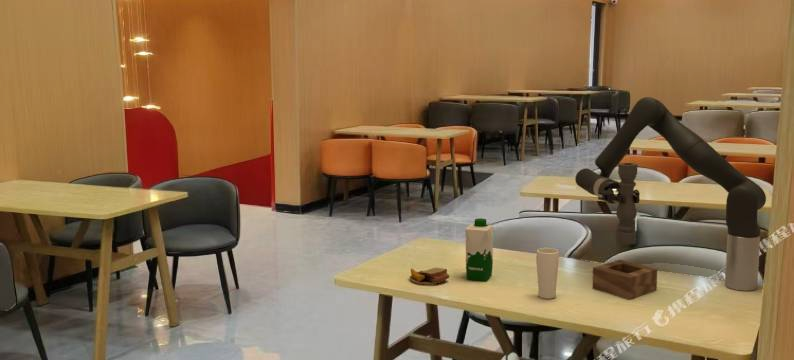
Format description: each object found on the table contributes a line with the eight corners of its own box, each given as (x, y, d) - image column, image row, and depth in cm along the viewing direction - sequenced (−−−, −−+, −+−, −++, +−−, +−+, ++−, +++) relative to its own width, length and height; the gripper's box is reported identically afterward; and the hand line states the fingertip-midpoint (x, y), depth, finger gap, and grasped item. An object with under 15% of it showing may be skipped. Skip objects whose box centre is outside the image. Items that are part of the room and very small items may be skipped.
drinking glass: (545, 301, 213) (546, 254, 211) (531, 295, 219) (532, 249, 217) (562, 297, 216) (563, 251, 214) (548, 291, 222) (549, 246, 220)
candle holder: (637, 244, 217) (639, 165, 212) (616, 244, 218) (618, 165, 213) (634, 239, 223) (637, 162, 218) (614, 239, 224) (616, 162, 219)
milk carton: (494, 275, 241) (494, 219, 238) (488, 283, 233) (488, 224, 229) (470, 272, 244) (470, 217, 241) (463, 280, 236) (462, 223, 233)
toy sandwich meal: (433, 272, 246) (433, 260, 245) (454, 282, 235) (454, 269, 234) (403, 278, 240) (402, 265, 240) (423, 289, 229) (422, 275, 228)
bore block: (619, 279, 232) (620, 259, 231) (656, 290, 221) (657, 269, 220) (592, 288, 224) (592, 267, 223) (629, 299, 213) (630, 277, 212)
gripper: (588, 180, 230) (609, 189, 214) (629, 178, 232) (653, 187, 215) (587, 202, 232) (608, 213, 215) (628, 200, 233) (652, 211, 216)
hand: (630, 200), depth 215 cm, fingers closed on candle holder, 4 cm apart
